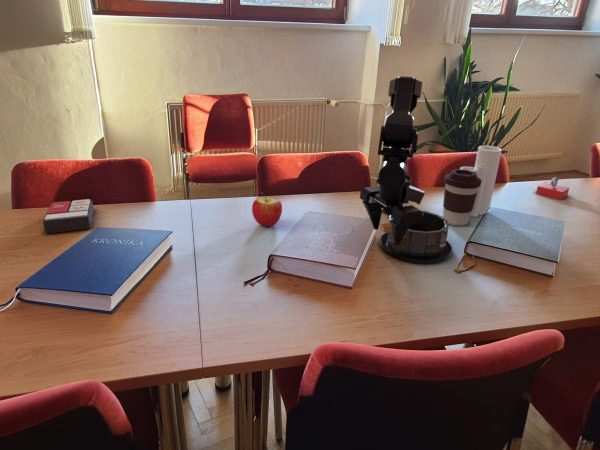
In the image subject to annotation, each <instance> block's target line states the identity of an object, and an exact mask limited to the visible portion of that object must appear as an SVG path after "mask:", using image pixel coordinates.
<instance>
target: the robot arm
mask: <svg viewBox="0 0 600 450" xmlns="http://www.w3.org/2000/svg"><path fill="white" fill-rule="evenodd" d="M422 90H423V81H421V80H418V79H417V78H416V77H414V76H405V75H403V76H402V75H400V76H396V77H395V78H394V79H393V78H392V79H390V80H389V84H388V93H387V95H388V97H389V98H390V107H391V109H392V112H391V113H390V114H388V115H387V116H386V117H385V120H384V125H381V127H380V133H379V134H380V135H379V141H378V149H377V156H382V160H381V165H380V168H379V172H378V175H377V178H376V182H375V183H376V184H378V185H375V186H366V187H363V188H362V189H361V190H360V192H359V199H361V202H362V204H363V205H364V208H365V210H366V212H367V215H368V217H369V220H370V223H371V225H372V228H373V229H374V230H375V231H376V230H379V229H380V225H381V219H382V213H383V212H384V213H386V214H387V215H391V214H392V218H393V220H391V226H392V232H393V239H394V244H395V245H398V244H400V242H401V240H402V238H403V236H404V235H405V233H406V231H407V230H408V228H409V227H410V226H411V225H413V224H417V223H421V222H422V221H423V215H424V213H423V212H422V211H423V210H421V209H419V208H417V207H416V206H414V205H411V204H410V205H406V204H409V202H412V203H416V204H417V205H421V203H422V201H423V198H424V196H425V195H426V192H425V191H423V190H421V189H419V188H418V187H415V186H413V185H412V182H413V180H412V179H411V174H409V166H408V161H409V158H410V159H414V154H417V151H418V149H417V148H418V140H419V133H418V129H417V128H416V127H414V123H415V118H414V116H412V115H411V114H412V113H413V111H414V110H415V109H416V107H417V106H418V100H419V99H421V97H422Z"/></svg>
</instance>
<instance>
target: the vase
mask: <svg viewBox="0 0 600 450" xmlns="http://www.w3.org/2000/svg"><path fill="white" fill-rule="evenodd" d="M502 151H503V149H502V148H500V147H497V146H493V145H479V146H478V147H477V151H476V158H475V163H474V167H473V166H460V168H459V169H461V170H469V171H472V172H475V173H476V174H477V177H478V178H480V179H481V185H480V187H478V189H477V195H476V199H475V203H474V206H473V210H472V211H471V214H470V218H472V217H473V218H477V217H479V216H484V215H483V214H484V213H485V211H486V209H487V208H489V207H490V208H491V203H492V199H493V193H494V189H495V185H496V179H497V175H498V171H499V166H500V161H501V156H502ZM490 208H489V209H490Z"/></svg>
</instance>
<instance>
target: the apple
mask: <svg viewBox="0 0 600 450" xmlns="http://www.w3.org/2000/svg"><path fill="white" fill-rule="evenodd" d="M260 194H262V196H263V197H262V196H261V197H257V198H256V199H254V201H253V202H252V205H251V213H252V216H253V218H254V220H255V222H256V223H257V224H258V225H261V226H263V227H271V226H274V225H276V224H277V223H278V222H279V220H280V219H281V216H282V213H283V205H282V202H281V200H279V199H276V198H272V197H266V194H264V192H262V191H260Z"/></svg>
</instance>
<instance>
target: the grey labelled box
mask: <svg viewBox="0 0 600 450" xmlns="http://www.w3.org/2000/svg"><path fill="white" fill-rule="evenodd" d="M93 214H94V203H93V200H91V199H90V198H87V199H86V198H85V199H76V200H72V201H70V200H64V201H55V202H51V204H50V206H49V207H48V209H47V211H46V214H45V215H44V218H43V219H42V224H43V229H44V233H45V234H55V233H65V232H71V231H72V232H73V231H82V230H90V229H91V228H92V220H93Z"/></svg>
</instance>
